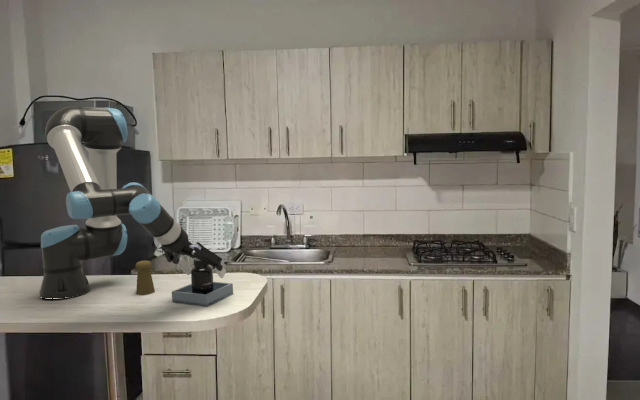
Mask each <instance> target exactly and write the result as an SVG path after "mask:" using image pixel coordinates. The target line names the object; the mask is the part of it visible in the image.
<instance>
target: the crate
mask: <svg viewBox="0 0 640 400" xmlns="http://www.w3.org/2000/svg"><path fill="white" fill-rule="evenodd" d="M233 285H234V284H233V283H230V282H221V281H220V282H219V281H213V288H214V291H213V292H210V293H208V294H197V293H192V283H189V284H187V285H185V286H182V287H180V288H177V289H175V290H173V291H171V301H172V302H171V303H175V304H181V305H182V304H184V305H189V306H199V307H204V308H205V307H206V308H207V307H209V306H211V305H214V304H216V303H218V302H220V301H222V300H224V299H226V298H228V297H230V296H232V295H234V286H233ZM219 300H220V301H219ZM217 301H218V302H217ZM215 302H216V303H215ZM213 303H214V304H213Z"/></svg>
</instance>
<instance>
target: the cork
mask: <svg viewBox="0 0 640 400" xmlns="http://www.w3.org/2000/svg"><path fill="white" fill-rule="evenodd" d="M151 269H152V262H151V261H150V260H140V261H137V262H136V263H135V271H136V272H137V277H136V288H135V289H136V291H135V292H136V293H135V294H136V295H137V296H147V295H151V294H154V293H155V292H156V291H155V290H156V289H155V284H154V281H153V276H152V273H151Z"/></svg>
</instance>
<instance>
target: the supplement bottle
mask: <svg viewBox="0 0 640 400" xmlns="http://www.w3.org/2000/svg"><path fill="white" fill-rule="evenodd" d="M193 266H194V267H192V268H193V269H192V270H191V273H190V278H191V279H190V281H191V283H190V284H192V293H197V294H208V293H210V292H213V291H214V288H213V282H214V270H213V269H212V268H211V265H209V264H207V263H205V262H203V261H201V260H199V259H197V258H193Z"/></svg>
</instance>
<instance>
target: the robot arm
mask: <svg viewBox="0 0 640 400" xmlns="http://www.w3.org/2000/svg"><path fill="white" fill-rule="evenodd" d="M126 121H127V120H126V119H125V116H124V114H123V113H122V111H121V110H119V109H118V108H112V107H107V106H105V107H104V106H103V107H102V106H101V107H100V106H76V105H75V106H74V105H73V106H64V107H62V108H60V109H59V110H56V111H55V112H54V113H53V114H52V115H51V116H50V117H49V119H48V120H47V121H46V126H45V129H44V131H45V134H44V135H45V138H46V141H47V143H48V145H49V146H50V147H51V148H52V149H54V152H55V154H56V155H55V156H56V157H57V159H58V163H59V165H60V167H61V170H62V172H63V175H64V178H65V180H66V183H67V186H68V188H69V190H70V192H68V193H67V194H66V198H65V206H66V210H67V215H68V216H69V217H70V218H71V219H73V220H86V221H85V227H81V228H80V226H79V225H78V224H70V225H62V226H58V227H54V228H51V229H47V230H45V231H44V232H42V234H41V236H40V248H41V255H42V256H41V257H42V269H43V278H42V281H41V285H40V289H39V298H40V297H42V298H52V299H53V298H65V297H72V296H76V297H78V296H77V295H80V296H82V295H81V294H83V295H85V294H87V293H89V292H90V290H91V288H90V283H89V281H88V278H87V276H86V274H85V272H84V270H83V262H84V261H90V260H97V259H105V258H113V257H115V256H119V255H121V254H122V253H123V252H125V250H126V248H127V244H128V231H127V227H126V226H125V224H124V223H123V222H122V220H121V219H120V218H119V217H118V216H124V215H130V216H131V217H132V218H133V219H134V221H136V222H137V223H139V224H140V225H141V226H142V227H143V228H144V229H145V230H146V231H147V232H148V233H149V234H150V235H151V236H152V237H153V238H154V239H155V240H156V241H157V243H158V244H160V245H161V247H160V248H161V250H162V251H163V253H164V256H165V258H166V262H168V263H169V264H171V263H173V264H175V265H176V266H177V267H179V268H180V269H181V270H182V272H184V273H185V274H186V275H187V276H189V275H190V276H191V270H192V269H193V268H194V267H192V266H191V265H190V264H189V263H188V261H186V259H185V258H183V257H181V256H187V257H190V258H191V259H199V260H201V261H203V262H205V263H207V264H209V266H210V267H211V268H212V269H213V272H215V274H217V275H218V276H219V278H220V279H224V276H225V274H226V273H227V270H226V269H225V268H224V266H223V265H222V261H223V258H222V257H221V256H219V255H218V254H216V253H214V252H213V251H211V250H210V249H208V248H207V247H205V246H204V245H202V244H201V242H199V241H197V242H196V243H195V244H194V243H192V242H190V239H189V235H188V233H187V232H186V230H184V229H183V228H182V227H181V225H180V224H179V223H178V222H177V221H176V219H175V218H173V217H172V216H171V215H170V214H169V212H168V211H167V210H166V209H165V207H164V206H163V205H161V204H160V202H159V201H158V199H157V198H156V197H154V196H153V195H152V194H151V193H150V192H151V191H149V189H148V188H146V187H144V185H142V184H141V183H139V182H129V183H127V184H124V185H123V186H122V188H117V187H118V186H117V185H118V184H117V180H118V179H117V178H118V177H117V166H118V165H117V164H118V163H117V153H118V152H120V150H121V149H122V143H123V144H124V143H126V142H127V140H128V136H129V135H128V133H129V132H128V125H127V122H126ZM82 143H83V144H82ZM85 149H86V150H87V151H88V154H87V152H86V151H85ZM88 156H89V157H88ZM193 252H194V253H193ZM88 291H89V292H88ZM84 293H85V294H84ZM72 298H73V297H72Z"/></svg>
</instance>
